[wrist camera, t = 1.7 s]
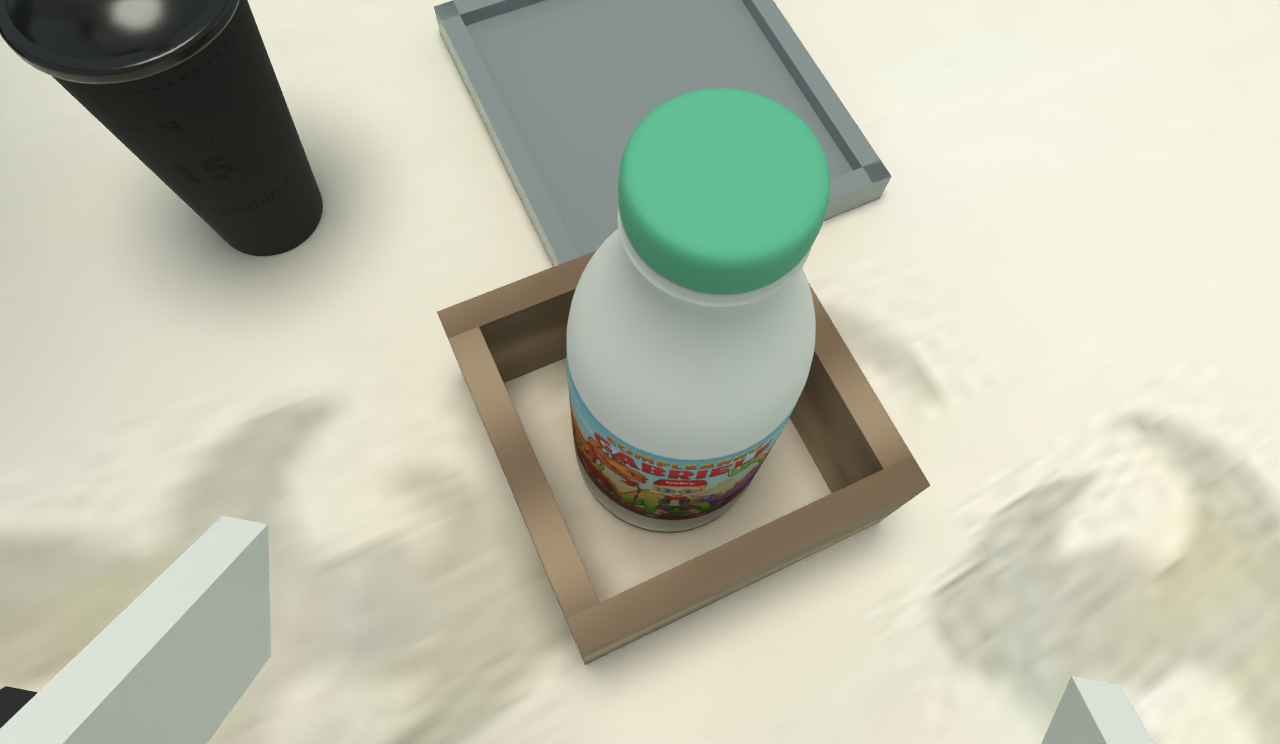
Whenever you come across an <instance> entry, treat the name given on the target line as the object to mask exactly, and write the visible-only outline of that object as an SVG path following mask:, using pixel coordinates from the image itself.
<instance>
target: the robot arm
mask: <svg viewBox="0 0 1280 744" xmlns="http://www.w3.org/2000/svg"><path fill="white" fill-rule="evenodd" d="M270 656H271V645H270V601H269V557H268V524H264V523H258V522H253V521H248V520H243V519H237V518H232V517H227V516H222V517H221V518H220V519H219V520H218V521H217V522H215V523H214V524H213V525H212V526H211V527H210V528H209V529H208V530H207V531H206V532H205V533H204V534H203V535H202V536H201V537H200V538H199V539H198V540H197V541H196V542H195V543H194V544H193V545H191V546H190V547H189V548H188V549H187V550H186V551H185V552H184V553H183V554H182V555H181V556H180V557H179V558H178V559H177V560H176V561H175V562H174V563H173V564H172V565H171V566H170V567H169V568H167V569H166V570H165V571H164V572H163V573H162V574H161V575H160V576H159V577H158V578H157V579H156V580H155V581H154V582H153V583H152V584H151V585H150V586H149V587H148V588H147V589H146V590H145V591H143V592H142V593H141V594H140V595H139V596H138V597H137V598H136V599H135V600H134V601H133V602H132V603H131V604H130V605H129V606H128V607H127V608H126V609H125V610H124V611H123V612H122V613H121V614H119V615H118V616H117V617H116V618H115V619H114V620H113V621H112V622H111V623H110V624H109V625H108V626H107V627H106V628H105V629H104V630H103V631H102V632H101V633H100V634H99V635H98V636H97V637H95V638H94V639H93V640H92V641H91V642H90V643H89V644H88V645H87V646H86V647H85V648H84V649H83V650H82V651H81V652H80V653H79V654H78V655H77V656H76V657H75V658H74V659H72V660H71V661H70V662H69V663H68V664H67V665H66V666H65V667H64V668H63V669H62V670H61V671H60V672H59V673H58V674H57V675H56V676H55V677H54V678H53V679H52V680H51V681H50V682H48V683H47V684H46V685H45V686H44V687H43V688H42V689H41V690H40V691H39V692H38V693H37V692H32V691H27V690H22V689H17V688H12V687H7V686H6V687H4V688H2V689H0V744H207V742H208V741H209V740H210V738H211V737H212V735H213V734H214V733H215V731H216V730H217V729H218V727H219V726H220V725H221V723H222V722H223V720H224V719H225V718H226V716H227V715H228V714H229V712H230V711H231V710H232V708H233V707H234V705H235V704H236V703H237V701H238V700H239V699H240V697H241V696H242V695H243V693H244V692H245V691H246V689H247V688H248V686H249V685H250V684H251V682H252V681H253V680H254V678H255V677H256V676H257V674H258V673H259V671H260V670H261V669H262V667H263V666H264V665H265V663H266V662H267V661H268V659H269V658H270ZM1042 744H1154V742H1153V740H1152V739H1151V737H1150V735H1149V733H1148V732H1147V730H1146V728H1145V727H1144V725H1143V723H1142V721H1141V720H1140V718H1139V716H1138V715H1137V713H1136V711H1135V710H1134V708H1133V706H1132V704H1131V703H1130V701H1129V699H1128V698H1127V696H1126V694H1125V692H1124V691H1123V689H1122V687H1121V686H1120V685H1117V684H1112V683H1106V682H1101V681H1096V680H1090V679H1085V678H1080V677H1075V676H1071V678H1070V680H1069V683H1068V685H1067V687H1066V689H1065V692H1064V694H1063V696H1062V698H1061V701H1060V703H1059V705H1058V707H1057V710H1056V712H1055V714H1054V716H1053V719H1052V721H1051V723H1050V725H1049V728H1048V730H1047V732H1046V734H1045V737H1044V739H1043V741H1042Z"/></svg>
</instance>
